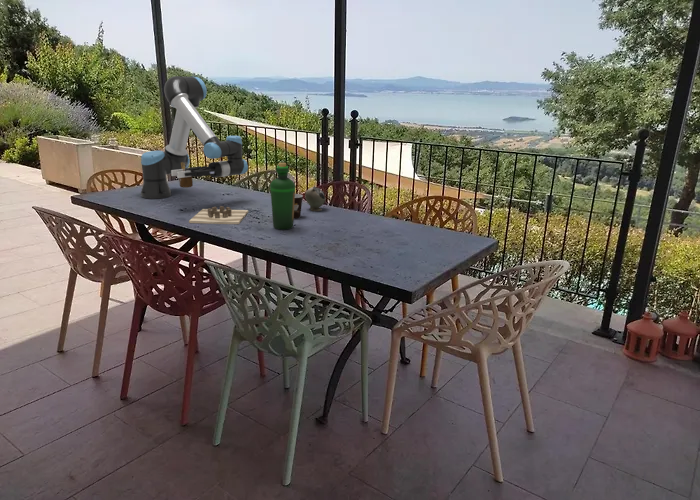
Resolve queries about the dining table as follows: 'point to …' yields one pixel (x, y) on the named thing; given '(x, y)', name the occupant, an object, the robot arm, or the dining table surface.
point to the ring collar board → (219, 216)
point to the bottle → (282, 199)
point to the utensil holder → (185, 179)
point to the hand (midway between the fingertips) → (174, 174)
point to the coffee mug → (297, 205)
